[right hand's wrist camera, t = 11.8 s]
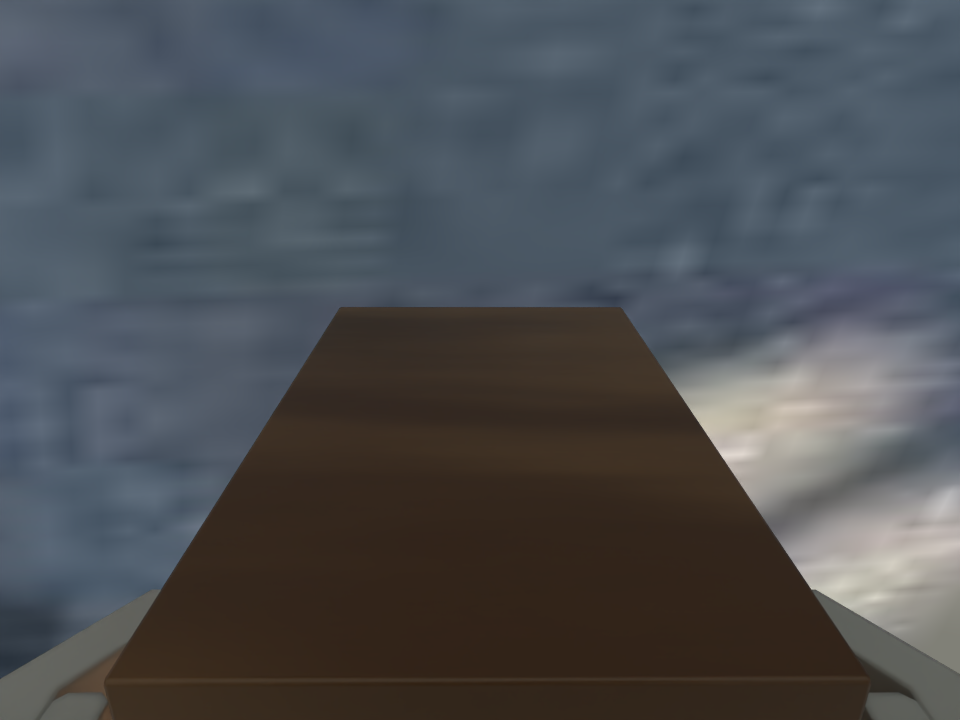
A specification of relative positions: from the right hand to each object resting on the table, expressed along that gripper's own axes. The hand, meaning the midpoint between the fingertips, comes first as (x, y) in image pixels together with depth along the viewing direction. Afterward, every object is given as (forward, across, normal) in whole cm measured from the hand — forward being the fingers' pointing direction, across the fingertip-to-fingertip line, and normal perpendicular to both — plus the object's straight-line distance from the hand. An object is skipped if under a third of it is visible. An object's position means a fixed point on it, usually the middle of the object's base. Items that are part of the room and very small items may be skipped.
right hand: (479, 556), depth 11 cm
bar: (+4, 0, +8) cm, 9 cm away
